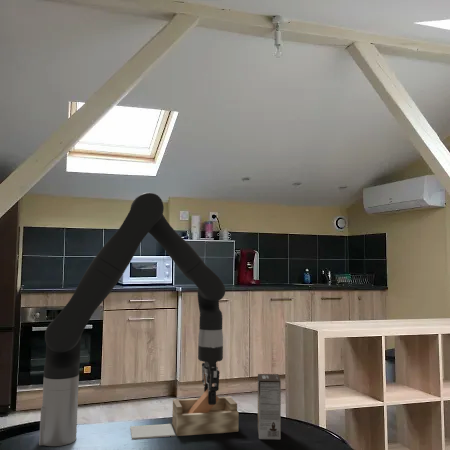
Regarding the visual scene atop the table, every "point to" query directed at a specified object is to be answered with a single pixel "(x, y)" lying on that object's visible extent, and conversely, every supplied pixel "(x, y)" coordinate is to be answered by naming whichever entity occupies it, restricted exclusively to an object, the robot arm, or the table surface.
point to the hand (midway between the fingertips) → (209, 401)
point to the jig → (205, 417)
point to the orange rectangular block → (202, 404)
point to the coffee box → (269, 406)
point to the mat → (151, 431)
